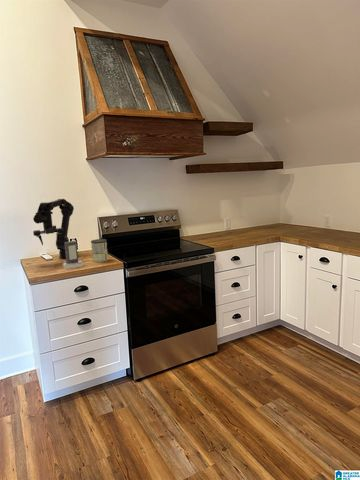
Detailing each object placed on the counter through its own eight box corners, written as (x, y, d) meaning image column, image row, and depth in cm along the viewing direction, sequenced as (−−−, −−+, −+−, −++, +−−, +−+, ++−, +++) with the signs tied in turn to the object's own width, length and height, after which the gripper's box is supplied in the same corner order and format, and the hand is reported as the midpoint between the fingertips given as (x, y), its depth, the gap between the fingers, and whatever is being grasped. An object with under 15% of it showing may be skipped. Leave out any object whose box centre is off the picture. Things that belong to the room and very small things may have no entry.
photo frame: (66, 263, 228) (64, 242, 225) (76, 261, 231) (74, 240, 229) (68, 264, 224) (66, 243, 222) (78, 262, 228) (76, 241, 225)
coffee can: (91, 260, 243) (89, 240, 240) (105, 258, 247) (104, 238, 245) (94, 263, 234) (92, 242, 231) (109, 260, 238) (108, 240, 236)
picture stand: (63, 265, 230) (62, 261, 230) (80, 263, 235) (79, 259, 235) (65, 269, 221) (65, 264, 221) (83, 266, 226) (82, 262, 226)
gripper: (33, 224, 222) (36, 248, 225) (63, 221, 231) (66, 244, 233) (32, 222, 232) (34, 245, 235) (61, 219, 240) (63, 242, 243)
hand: (50, 244), depth 237 cm, fingers open, 9 cm apart
